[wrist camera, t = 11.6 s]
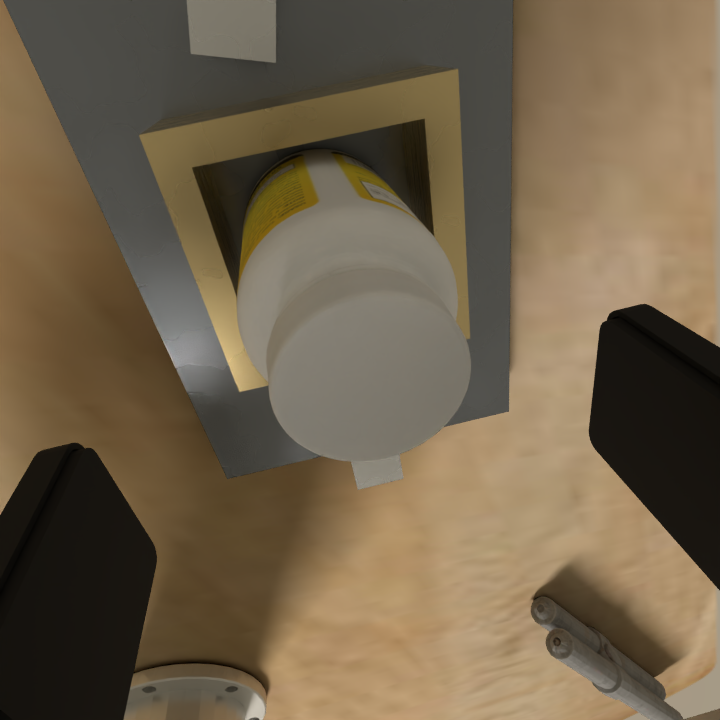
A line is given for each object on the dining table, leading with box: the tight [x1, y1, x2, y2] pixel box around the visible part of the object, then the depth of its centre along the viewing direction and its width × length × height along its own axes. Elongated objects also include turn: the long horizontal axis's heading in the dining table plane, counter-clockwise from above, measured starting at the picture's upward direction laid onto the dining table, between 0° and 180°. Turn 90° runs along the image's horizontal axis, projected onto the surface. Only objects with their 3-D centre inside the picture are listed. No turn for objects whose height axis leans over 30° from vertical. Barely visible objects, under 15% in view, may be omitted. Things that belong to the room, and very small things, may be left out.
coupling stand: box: [3, 0, 513, 490], centre depth 17 cm, size 22×14×4 cm, turn 9°
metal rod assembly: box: [531, 597, 683, 720], centre depth 41 cm, size 26×3×5 cm, turn 40°
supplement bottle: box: [237, 149, 471, 462], centre depth 13 cm, size 5×5×10 cm
